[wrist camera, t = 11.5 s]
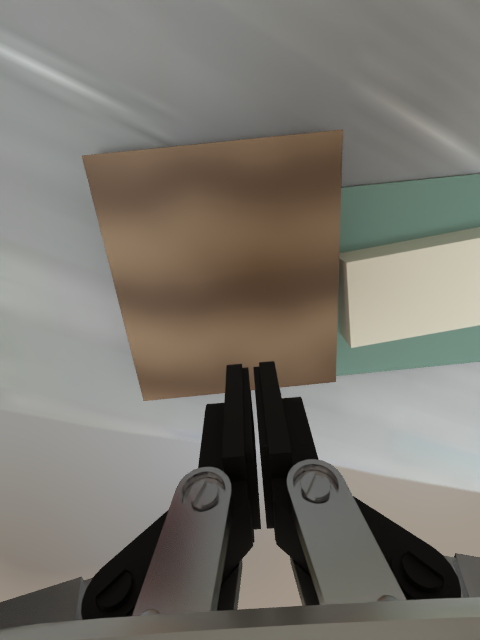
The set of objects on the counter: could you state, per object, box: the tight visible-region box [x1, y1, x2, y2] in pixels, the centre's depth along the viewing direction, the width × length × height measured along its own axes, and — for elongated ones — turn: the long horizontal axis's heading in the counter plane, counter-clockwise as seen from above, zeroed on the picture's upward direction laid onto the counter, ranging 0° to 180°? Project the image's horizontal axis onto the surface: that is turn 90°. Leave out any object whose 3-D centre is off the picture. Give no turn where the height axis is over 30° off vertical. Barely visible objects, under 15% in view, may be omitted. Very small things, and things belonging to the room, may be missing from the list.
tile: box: [338, 227, 480, 348], centre depth 22 cm, size 6×12×2 cm, turn 100°
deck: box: [82, 130, 343, 401], centre depth 22 cm, size 16×14×2 cm
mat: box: [336, 174, 480, 376], centre depth 24 cm, size 14×16×1 cm
